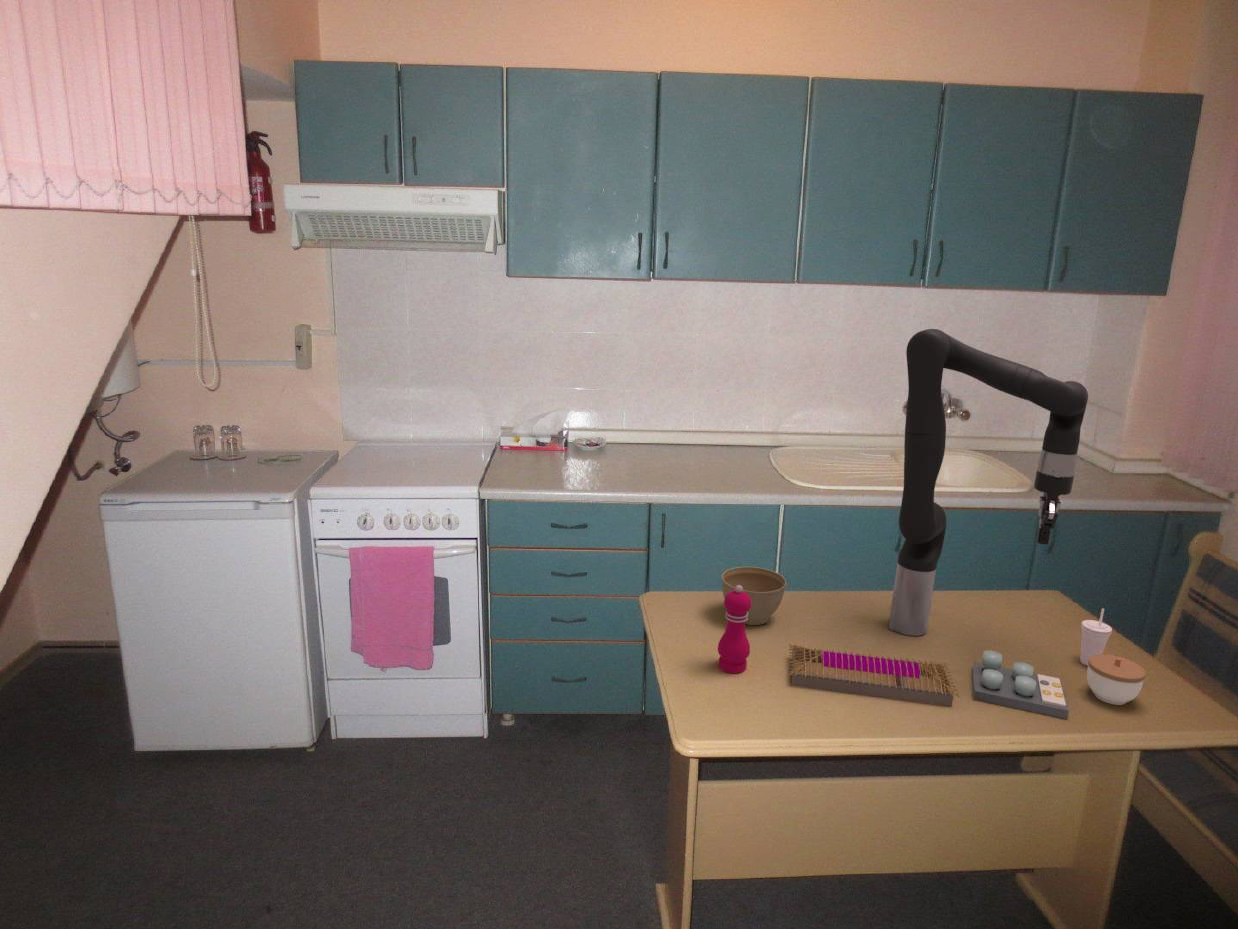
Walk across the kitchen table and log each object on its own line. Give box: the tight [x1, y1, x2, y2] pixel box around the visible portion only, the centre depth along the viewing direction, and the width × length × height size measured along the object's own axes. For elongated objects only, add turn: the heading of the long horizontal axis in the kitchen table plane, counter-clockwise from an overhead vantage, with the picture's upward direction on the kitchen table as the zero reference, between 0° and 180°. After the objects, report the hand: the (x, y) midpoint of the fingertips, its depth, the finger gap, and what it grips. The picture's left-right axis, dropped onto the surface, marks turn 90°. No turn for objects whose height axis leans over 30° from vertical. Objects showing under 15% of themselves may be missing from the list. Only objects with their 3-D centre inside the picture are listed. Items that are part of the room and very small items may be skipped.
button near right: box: [1014, 676, 1036, 697], centre depth 177 cm, size 4×4×4 cm
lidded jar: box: [1086, 653, 1147, 706], centre depth 179 cm, size 11×11×9 cm
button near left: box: [981, 669, 1003, 690], centre depth 179 cm, size 4×4×4 cm
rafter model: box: [788, 643, 960, 707], centre depth 182 cm, size 35×14×6 cm, turn 79°
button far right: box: [1012, 661, 1035, 680], centre depth 183 cm, size 4×4×4 cm
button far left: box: [981, 649, 1003, 670], centre depth 184 cm, size 4×4×4 cm
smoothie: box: [1079, 608, 1113, 667], centre depth 194 cm, size 6×6×14 cm
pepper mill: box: [717, 585, 751, 674], centre depth 184 cm, size 7×7×20 cm
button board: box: [972, 661, 1069, 720], centre depth 180 cm, size 18×14×3 cm
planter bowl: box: [721, 566, 787, 626], centre depth 210 cm, size 16×16×11 cm
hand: (1042, 543), depth 189 cm, fingers closed
